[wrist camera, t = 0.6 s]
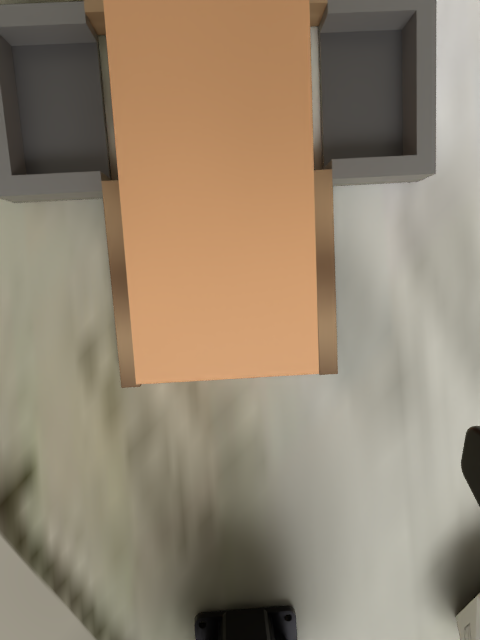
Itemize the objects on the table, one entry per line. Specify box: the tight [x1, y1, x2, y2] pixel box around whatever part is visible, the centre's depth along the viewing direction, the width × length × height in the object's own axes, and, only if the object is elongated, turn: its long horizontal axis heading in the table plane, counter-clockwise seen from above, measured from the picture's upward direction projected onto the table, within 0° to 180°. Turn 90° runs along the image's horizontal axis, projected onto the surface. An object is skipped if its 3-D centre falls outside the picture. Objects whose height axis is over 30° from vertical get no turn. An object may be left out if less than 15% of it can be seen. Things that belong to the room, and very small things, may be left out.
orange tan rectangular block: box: [103, 0, 319, 384], centre depth 19 cm, size 15×7×9 cm, turn 3°
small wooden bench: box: [84, 0, 338, 388], centre depth 21 cm, size 27×12×4 cm, turn 3°
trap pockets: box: [0, 0, 436, 203], centre depth 22 cm, size 9×23×2 cm, turn 93°
